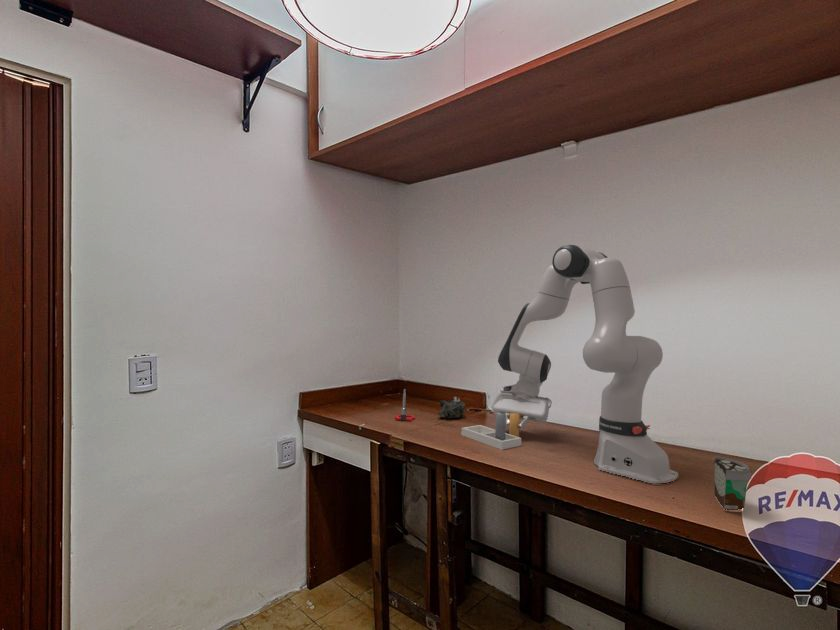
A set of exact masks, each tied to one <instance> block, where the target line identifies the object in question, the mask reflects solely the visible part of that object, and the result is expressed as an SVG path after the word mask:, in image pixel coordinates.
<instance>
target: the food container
mask: <svg viewBox="0 0 840 630" xmlns="http://www.w3.org/2000/svg"><path fill="white" fill-rule="evenodd" d="M713 464H714V466H713V471H714V472H713V473H714V475H713V483H714V484H713V495H714V494H715V496H716V497H717V499H718V501H719V502H720V504H721V505H722V506H723V508H724V509H725V510H726V509H727V510H738V509H742V508H744V509H745V505H746V496H747V488H748V482H749V481H748V480H750V479H752V473H751V470H750V467H749V465H747V464H745V463H743V462H742V461H739V460H735V459H731V458H727V457H723V456H717V455H715V456H714V457H713Z"/></svg>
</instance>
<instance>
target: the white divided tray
mask: <svg viewBox="0 0 840 630" xmlns="http://www.w3.org/2000/svg"><path fill="white" fill-rule="evenodd" d="M461 436H463V437H467V438H468V439H470V440H474V441H476V442H479V443H482V444H485V445H487V446H491V447H493V448H496V449H498V450H501V451H503V450H507V449H512V448H518V447H522V437H520V436H519V437H516V436H513V435H510V434H509V433H507V432H506V436H505V440H503V441H501V440H499V439H496V438H495V429H494V428H491V427H489V426H486V425H485V426H484V425H481V424H478V425H471V426H465V427H461Z"/></svg>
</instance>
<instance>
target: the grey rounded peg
mask: <svg viewBox="0 0 840 630" xmlns="http://www.w3.org/2000/svg"><path fill="white" fill-rule="evenodd" d="M506 428H507V426H506V414H502V413H497V414H495V438H496V439H499V440H501V441H503V440H505V436H506V433H507V429H506Z"/></svg>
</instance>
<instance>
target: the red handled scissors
mask: <svg viewBox="0 0 840 630" xmlns="http://www.w3.org/2000/svg"><path fill="white" fill-rule="evenodd" d="M406 391H407V390H406V388H404V389H403V394H402V407H401V414H396V415H394V420H395V421H401V422H412V420H415V419H416V416H415V415H412V414H407V408H406V403H407V401H406V400H407V395H406Z"/></svg>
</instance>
